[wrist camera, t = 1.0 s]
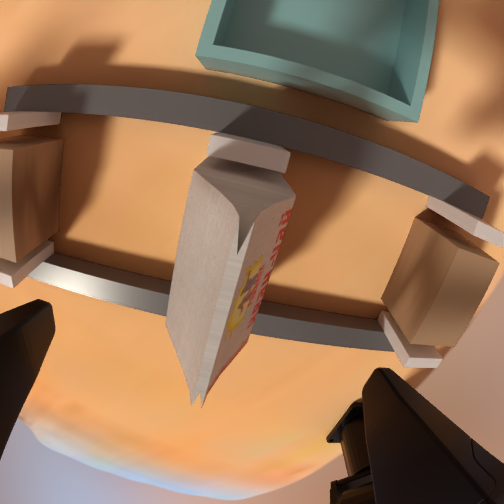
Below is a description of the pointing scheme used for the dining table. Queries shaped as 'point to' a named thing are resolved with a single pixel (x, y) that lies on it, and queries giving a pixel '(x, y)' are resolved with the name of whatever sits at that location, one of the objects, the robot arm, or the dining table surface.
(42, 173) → the walnut block
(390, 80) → the teal tray
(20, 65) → the dining table surface
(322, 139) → the clip holder
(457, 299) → the walnut block
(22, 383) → the robot arm
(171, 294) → the tea bag
